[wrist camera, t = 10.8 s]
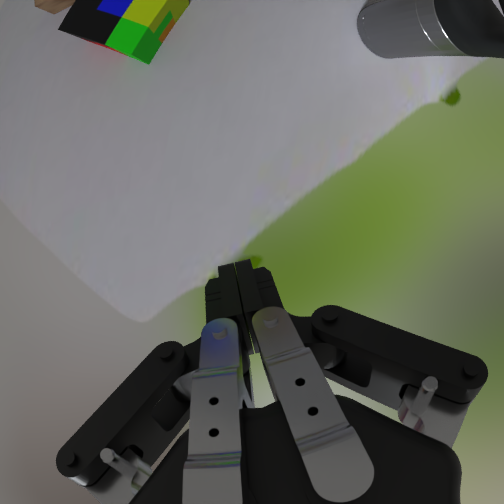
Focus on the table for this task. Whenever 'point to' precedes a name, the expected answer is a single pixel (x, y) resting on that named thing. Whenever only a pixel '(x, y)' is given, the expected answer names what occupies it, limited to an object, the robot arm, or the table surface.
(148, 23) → the puzzle toy
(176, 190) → the table surface
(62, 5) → the board
